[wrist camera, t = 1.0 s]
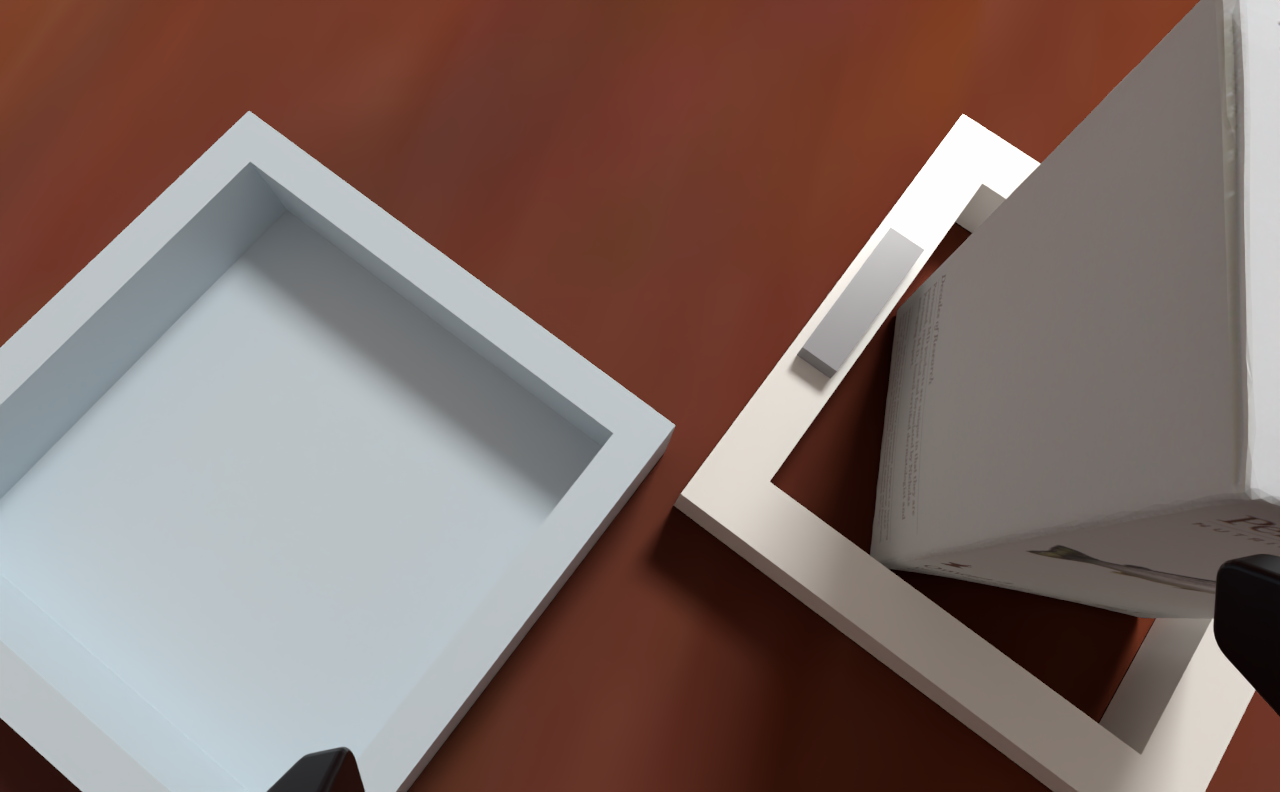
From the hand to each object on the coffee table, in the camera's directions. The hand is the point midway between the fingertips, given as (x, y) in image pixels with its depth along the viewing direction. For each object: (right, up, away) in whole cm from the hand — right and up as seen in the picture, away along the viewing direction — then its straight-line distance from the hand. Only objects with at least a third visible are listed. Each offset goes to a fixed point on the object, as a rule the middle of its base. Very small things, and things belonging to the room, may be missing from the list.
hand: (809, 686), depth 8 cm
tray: (-10, 0, +12) cm, 16 cm away
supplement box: (+8, +1, +14) cm, 16 cm away
